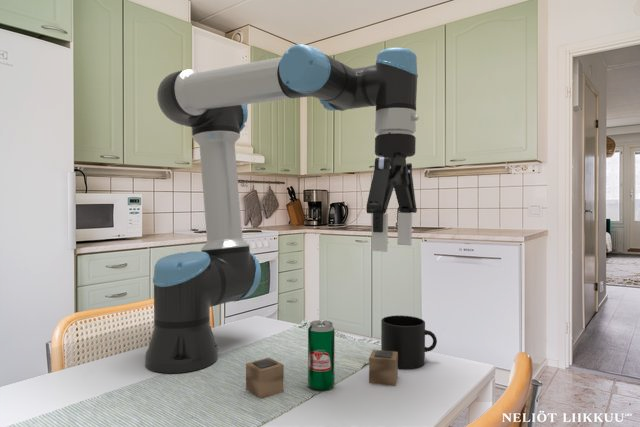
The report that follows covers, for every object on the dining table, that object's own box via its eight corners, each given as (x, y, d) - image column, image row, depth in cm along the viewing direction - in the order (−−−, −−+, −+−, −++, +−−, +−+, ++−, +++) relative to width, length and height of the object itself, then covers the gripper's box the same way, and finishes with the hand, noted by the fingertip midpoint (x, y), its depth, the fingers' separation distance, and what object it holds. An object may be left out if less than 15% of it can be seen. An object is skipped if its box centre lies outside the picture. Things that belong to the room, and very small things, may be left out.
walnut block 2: (369, 383, 84) (369, 356, 84) (372, 374, 89) (372, 348, 89) (395, 386, 83) (395, 359, 83) (397, 376, 88) (397, 350, 88)
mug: (440, 371, 91) (440, 327, 90) (382, 368, 92) (382, 325, 92) (433, 355, 100) (433, 316, 100) (380, 353, 101) (380, 314, 101)
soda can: (304, 390, 81) (304, 325, 81) (311, 379, 86) (311, 318, 86) (331, 392, 80) (331, 327, 80) (336, 382, 85) (336, 320, 85)
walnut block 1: (246, 390, 81) (246, 362, 81) (268, 383, 84) (268, 356, 84) (260, 399, 77) (260, 370, 77) (283, 391, 81) (283, 363, 81)
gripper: (391, 122, 69) (388, 256, 70) (432, 142, 91) (430, 244, 92) (348, 125, 73) (345, 252, 74) (398, 144, 95) (396, 241, 95)
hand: (392, 248), depth 83 cm, fingers open, 13 cm apart
